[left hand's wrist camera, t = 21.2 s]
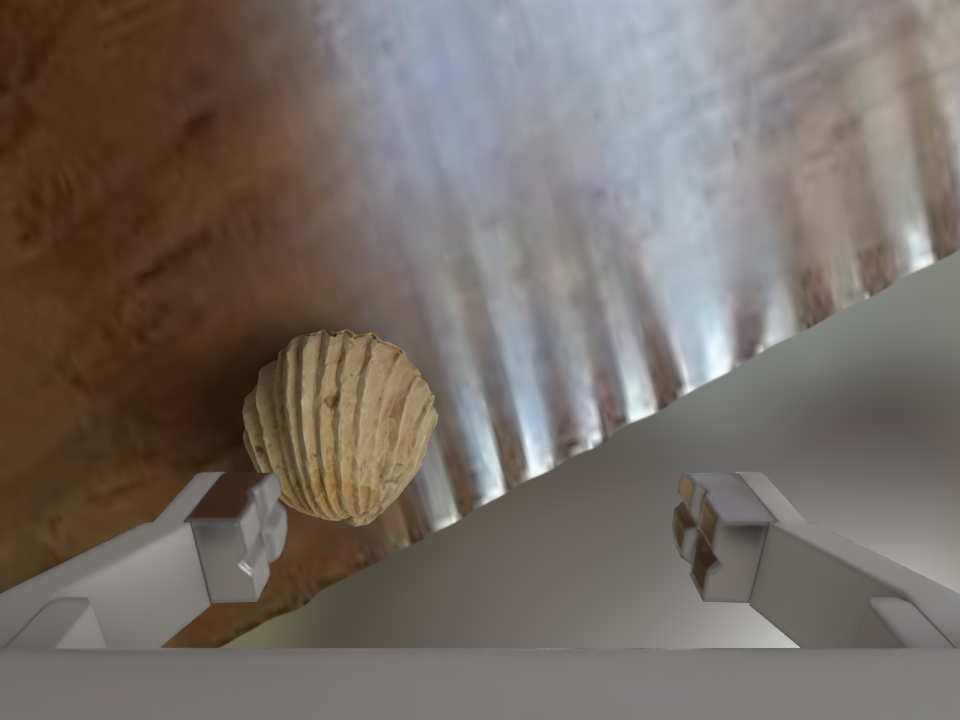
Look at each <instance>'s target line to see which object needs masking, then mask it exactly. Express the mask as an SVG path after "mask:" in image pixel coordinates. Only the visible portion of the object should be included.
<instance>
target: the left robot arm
mask: <svg viewBox="0 0 960 720" xmlns="http://www.w3.org/2000/svg"><path fill="white" fill-rule="evenodd" d="M282 491H283V490H282V486H281V481H280V477H279V476H278V475H277V474H276V473H250V472H227V473H226V472H202V473H198V474H196V475H195V476H194V477H193V478H192V480H191V481H190V482H189V483H188V484H187V485H186V486H185V487H184V489H183V490H182V491H181V492H180V493H179V494H178V495H177V496H176V497H175V499H174V500H173V501H172V502H171V503H170V504H169V505H168V506H167V508H166V509H165V510H164V511H163V512H162V513H161V514H160V515H159V516H158V518H157V519H156V520H155V521H154V522H153V523H143V524H141V525H139V526H137V527H135V528H133V529H131V530H129V531H127V532H125V533H123V534H121V535H119V536H117V537H115V538H113V539H110V540H108V541H106V542H104V543H102V544H100V545H98V546H96V547H94V548H92V549H90V550H88V551H86V552H84V553H82V554H80V555H78V556H76V557H74V558H72V559H70V560H68V561H66V562H64V563H62V564H60V565H58V566H56V567H54V568H51V569H49V570H47V571H45V572H43V573H41V574H39V575H37V576H35V577H33V578H31V579H29V580H27V581H25V582H23V583H21V584H19V585H17V586H15V587H13V588H11V589H9V590H7V591H5V592H3V593H1V594H0V720H960V594H959V593H957V592H955V591H953V590H951V589H949V588H947V587H945V586H943V585H941V584H939V583H937V582H935V581H933V580H931V579H928V578H927V577H924V576H922V575H920V574H918V573H916V572H914V571H912V570H910V569H908V568H906V567H904V566H902V565H900V564H898V563H896V562H894V561H892V560H890V559H888V558H886V557H884V556H882V555H880V554H878V553H876V552H874V551H872V550H870V549H868V548H866V547H864V546H862V545H860V544H858V543H856V542H853V541H851V540H849V539H847V538H845V537H843V536H841V535H839V534H837V533H835V532H833V531H831V530H829V529H827V528H825V527H823V526H821V525H819V524H817V523H807V522H806V521H805V520H804V519H803V518H802V516H801V515H800V514H799V513H798V512H797V511H796V510H795V509H794V508H793V506H792V505H791V504H790V503H789V502H788V501H787V500H786V499H785V497H784V496H783V495H782V494H781V493H780V492H779V491H778V490H777V489H776V487H775V486H774V485H773V484H772V483H771V482H770V481H769V480H768V478H767V477H766V476H765V475H764V474H762V473H760V472H733V473H698V474H682V476H681V478H680V480H679V485H678V490H677V491H678V493H679V495H680V497H681V498H682V500H683V501H682V502H681V503H680V504H679V505H678V506H677V507H676V508H675V509H674V516H673V536H674V540H675V544H676V548H677V550H678V552H679V554H680V556H681V557H682V558H683V559H684V560H686V561H687V562H689V563H690V564H691V570H690V576H691V578H692V580H693V582H694V584H695V586H696V588H697V590H698V592H699V594H700V596H701V598H702V600H703V601H704V602H737V603H750V604H749V605H750V606H751V607H753V608H754V609H755V610H756V611H757V612H758V613H760V614H761V615H762V616H763V617H764V618H766V619H767V620H768V621H769V622H770V623H772V624H773V625H774V626H775V627H776V628H778V629H779V630H780V631H781V632H783V633H784V634H785V635H786V636H787V637H788V638H790V639H791V640H792V641H793V642H794V643H796V644H797V645H798V646H799V647H801V648H160V647H161V646H162V645H163V644H164V643H166V642H167V641H168V640H169V639H170V638H172V637H173V636H174V635H175V634H177V633H178V632H179V631H180V630H181V629H183V628H184V627H185V626H186V625H187V624H189V623H190V622H191V621H192V620H193V619H195V618H196V617H197V616H198V615H199V614H201V613H202V612H203V611H204V610H205V609H207V608H208V607H209V606H210V603H222V602H257V600H258V598H259V596H260V594H261V592H262V590H263V588H264V586H265V584H266V582H267V580H268V578H269V576H270V570H269V564H270V563H271V562H273V561H274V560H276V559H277V558H278V557H279V556H280V554H281V552H282V550H283V547H284V544H285V540H286V535H287V515H286V509H285V508H284V507H283V506H282V505H281V504H280V503H279V502H278V501H277V500H278V498H279V497H280V495H281V493H282Z"/></svg>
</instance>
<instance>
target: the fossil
mask: <svg viewBox="0 0 960 720" xmlns="http://www.w3.org/2000/svg"><path fill="white" fill-rule="evenodd" d="M420 375H421V373H420V372H419V371H418V369H417V368H416V367H415V366H414V365H412V364H411V363H410V361H409V360H408V359H407V357H406V353H405V352H404V351H403V350H402V349H400V348H399V347H397V346H396V345H394V344H392V343H389V342H386V341H382V340H381V339H380V338H379V337H378V336H376V335H375V334H374V333H366V334H361V335H356V334H354V333H353V332H352V331H350V330H348V329H347V330H343V331H339V332H333V331H331V330H327V329H324V330H321V331H319V332H315V333H311V334H302V335H300V336H298V337H295V338H294V339H292V340H291V341H290V342H289V344H288V345H287V346H286V347H285V348H283V349H282V350H280V351H279V355H278V360H275V361H273V362H271V363H269V364H267V365H266V366H264V367H263V368H261V369H260V371H259V377H258V383H257V385H256V386H255V388H254V389H253V391H252V392H251V393H250V394H249V395H247V396H246V397H245V399H244V402H245V403H244V407H243V411H242V413H243V419H244V424H245V431H244V433H243V439H244V443H245V448H246V450H247V452H248V454H249V456H250V458H251V460H252V462H253V464H254V467H255V469H256V470H257V472H258V473H276V474H277V475H278V476H279V477H280V481H281V486H282V490H283V491H282V493H281V495H280V497H279V498H280V499H281V500H282V501H283V502H285V503H286V504H287V505H289V506H290V507H293V508H295V509H297V510H298V511H300V512H303V513H305V514H308V515H311V516H315V517H321V518H322V519H326V520H336V521H339V520H341V519H342V520H344V521H345V522H346V523H348V524H350V525H352V526H355V527H356V526H362V525H366V524H369V523H370V522H371V521H373V520H374V519H375V518H376V517H377V516H378V515H380V514H381V513H382V512H383V511H384V510H385V509H386V508H387V507H388V506H389V505H390V504H391V503H392V502H393V501H394V500H395V499H396V498H397V497H398V496H399V495H400V493H401V492H402V491H403V489H404V488H405V487H406V486H407V485H408V483H409V482H410V481H411V480H412V478H413V477H414V476H415V474H416V473H417V471H418V470H419V468H420V467H421V465H422V459H423V457H424V456H425V454H426V449H427V443H428V440H429V438H430V436H431V432H432V430H433V429H434V428H435V426H436V424H437V420H438V415H437V412H436V409H435V408H434V407H432V406H433V402H434V398H435V397H434V395H433V393H432V392H431V391H430V390H429V387H428V384H427V382H426V381H424V380H423V379H422V378H421V377H420Z"/></svg>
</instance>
